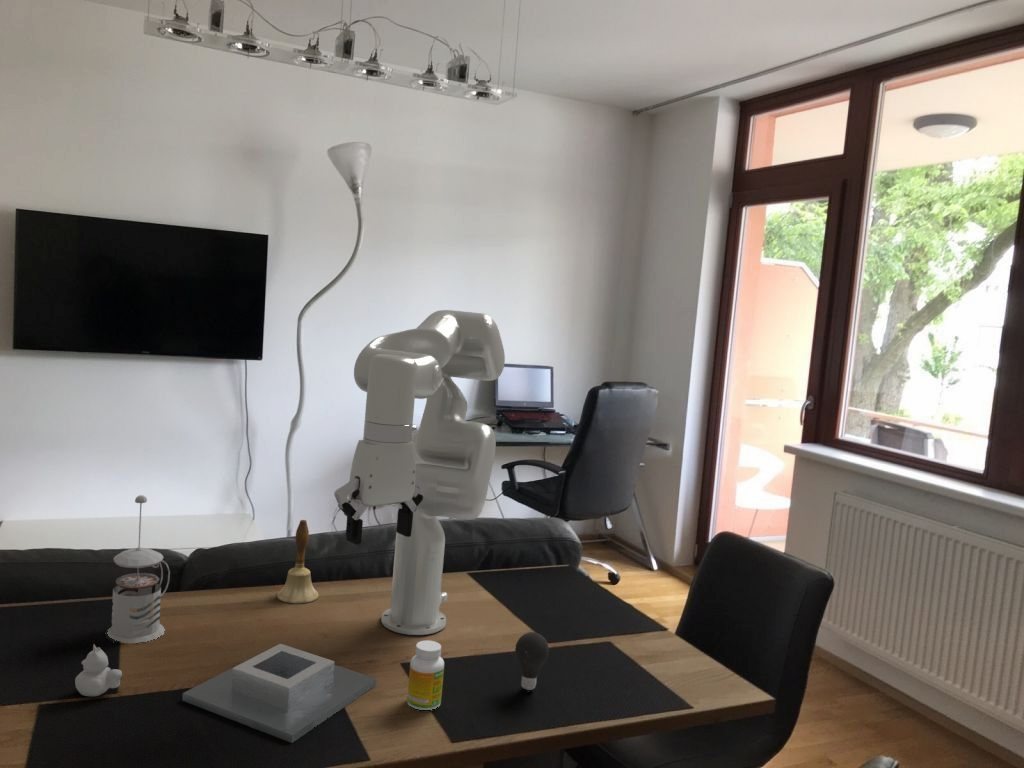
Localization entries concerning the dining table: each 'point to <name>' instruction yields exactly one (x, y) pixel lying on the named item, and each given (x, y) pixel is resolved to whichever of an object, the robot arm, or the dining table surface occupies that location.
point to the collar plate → (273, 714)
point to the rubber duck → (97, 674)
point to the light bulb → (531, 657)
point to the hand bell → (299, 573)
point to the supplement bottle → (426, 676)
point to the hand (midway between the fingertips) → (379, 538)
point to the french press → (137, 595)
